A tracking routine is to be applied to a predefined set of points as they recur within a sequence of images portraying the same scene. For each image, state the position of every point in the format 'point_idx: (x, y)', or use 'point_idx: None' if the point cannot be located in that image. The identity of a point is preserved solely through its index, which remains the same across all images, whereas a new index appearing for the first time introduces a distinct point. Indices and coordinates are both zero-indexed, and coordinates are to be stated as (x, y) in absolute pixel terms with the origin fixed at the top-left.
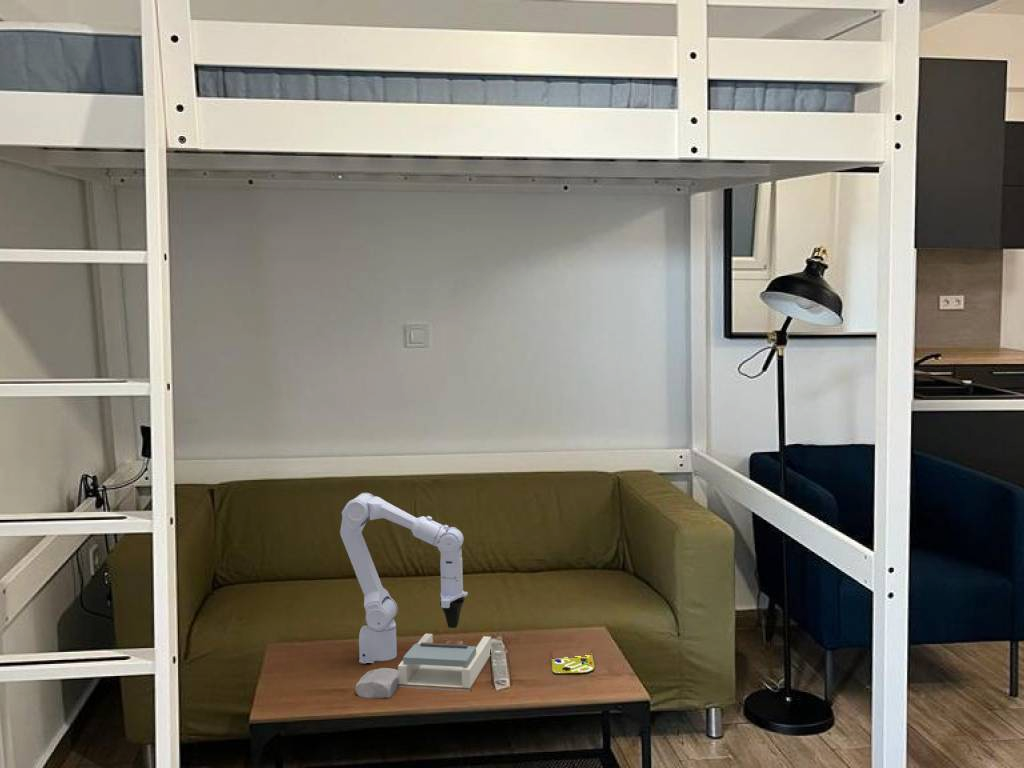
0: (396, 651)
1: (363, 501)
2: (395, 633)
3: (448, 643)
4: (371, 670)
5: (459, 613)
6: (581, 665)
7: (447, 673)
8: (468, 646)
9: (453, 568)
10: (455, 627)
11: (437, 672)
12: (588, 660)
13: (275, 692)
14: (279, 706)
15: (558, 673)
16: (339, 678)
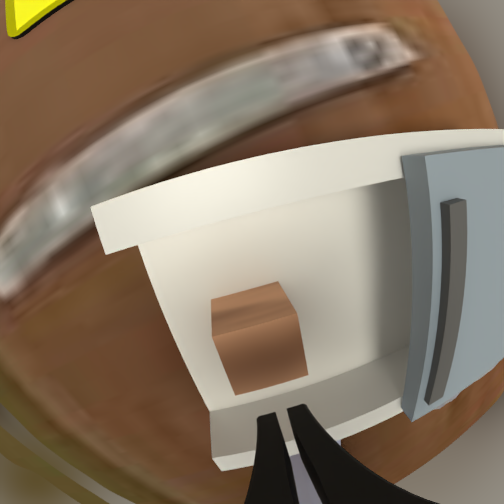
0: (298, 458)
1: None
2: (319, 498)
3: (276, 374)
4: (437, 407)
5: (273, 489)
6: None
7: (402, 254)
8: (433, 202)
9: None
10: (306, 407)
11: (399, 290)
12: None
13: (451, 439)
14: (488, 402)
15: None
16: (411, 434)
